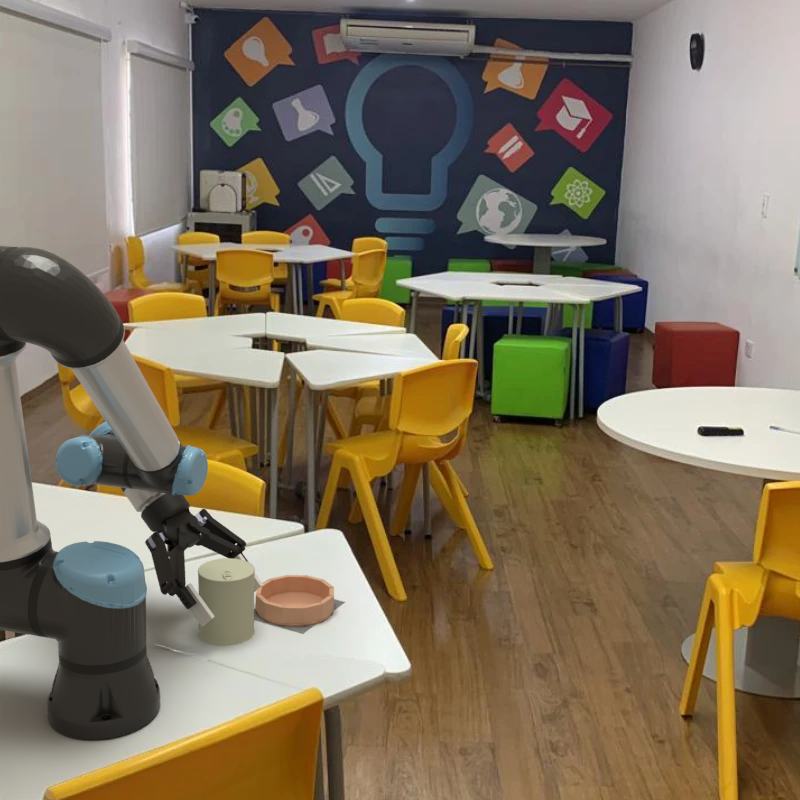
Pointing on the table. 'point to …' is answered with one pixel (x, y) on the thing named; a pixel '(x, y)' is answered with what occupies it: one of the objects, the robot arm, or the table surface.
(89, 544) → the robot arm
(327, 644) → the table surface
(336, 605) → the mat
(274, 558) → the table surface
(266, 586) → the bowl
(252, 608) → the can
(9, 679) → the table surface
